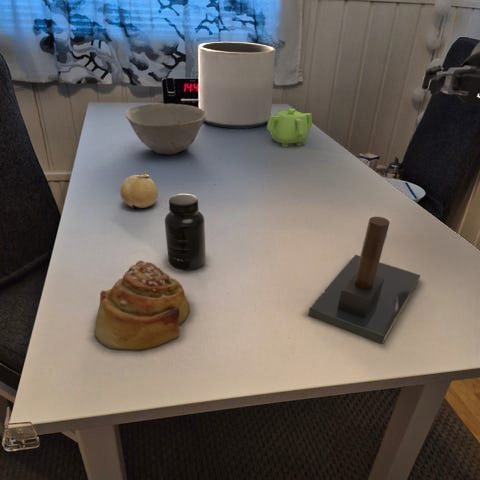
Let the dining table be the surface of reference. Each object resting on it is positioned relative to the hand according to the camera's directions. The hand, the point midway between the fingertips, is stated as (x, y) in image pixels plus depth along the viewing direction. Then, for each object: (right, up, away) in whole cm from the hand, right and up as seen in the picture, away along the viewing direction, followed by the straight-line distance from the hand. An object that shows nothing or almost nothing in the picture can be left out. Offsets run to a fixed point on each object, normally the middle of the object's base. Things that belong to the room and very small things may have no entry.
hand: (465, 91), depth 62 cm
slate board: (-10, -28, +12) cm, 32 cm away
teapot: (-16, +24, +77) cm, 82 cm away
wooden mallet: (-13, -29, +9) cm, 33 cm away
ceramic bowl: (-52, +17, +67) cm, 87 cm away
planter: (-33, +39, +96) cm, 108 cm away
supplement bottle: (-41, -21, +19) cm, 50 cm away
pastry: (-46, -32, +6) cm, 56 cm away
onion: (-54, -6, +38) cm, 66 cm away
